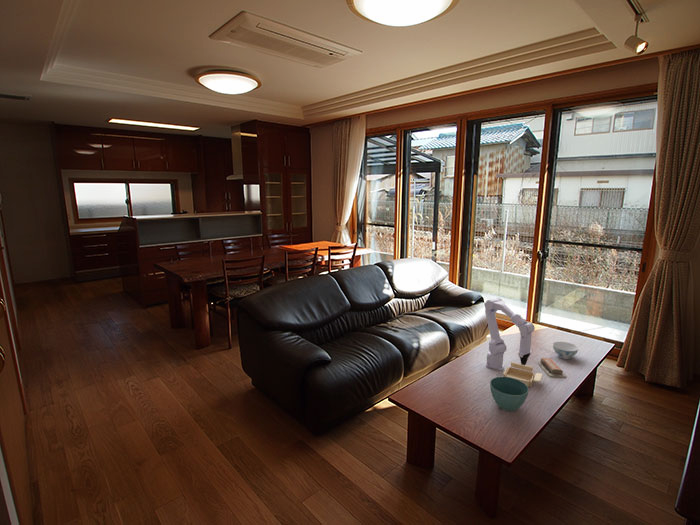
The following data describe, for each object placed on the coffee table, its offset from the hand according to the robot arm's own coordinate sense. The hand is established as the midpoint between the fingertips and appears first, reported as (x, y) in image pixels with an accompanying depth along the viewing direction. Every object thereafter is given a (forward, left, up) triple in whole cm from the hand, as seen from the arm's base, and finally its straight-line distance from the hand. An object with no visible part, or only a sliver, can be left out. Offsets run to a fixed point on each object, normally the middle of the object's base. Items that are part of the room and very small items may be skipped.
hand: (523, 364), depth 215 cm
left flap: (-2, +6, -6) cm, 9 cm away
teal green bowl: (-2, -34, -10) cm, 36 cm away
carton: (-2, 0, -10) cm, 10 cm away
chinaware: (+18, +48, -10) cm, 52 cm away
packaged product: (+13, +22, -11) cm, 28 cm away
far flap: (+6, 0, -6) cm, 9 cm away
